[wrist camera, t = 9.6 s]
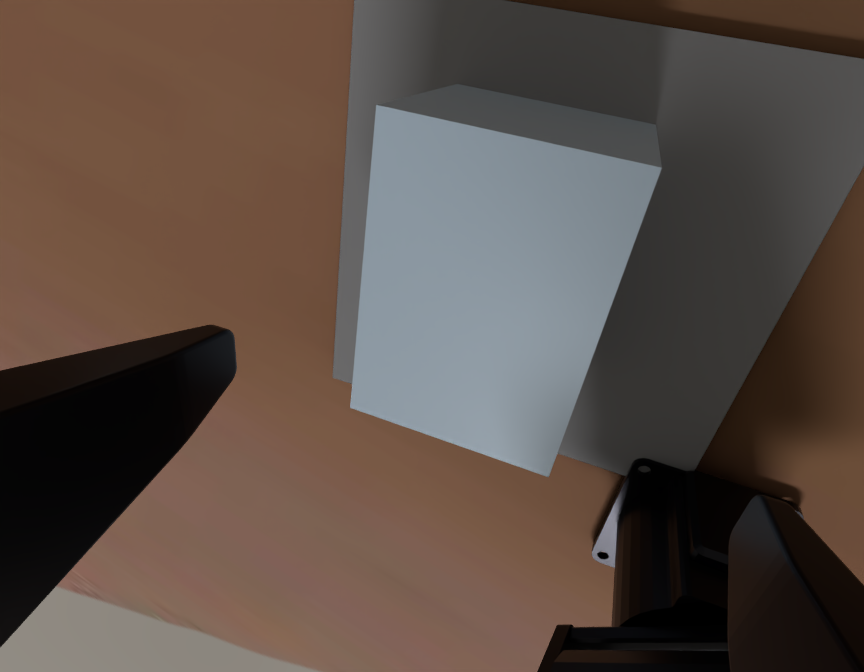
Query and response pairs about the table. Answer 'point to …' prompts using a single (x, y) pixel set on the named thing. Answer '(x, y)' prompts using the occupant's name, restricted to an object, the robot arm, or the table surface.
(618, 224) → the grey rectangular block
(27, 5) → the table surface
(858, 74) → the mat
